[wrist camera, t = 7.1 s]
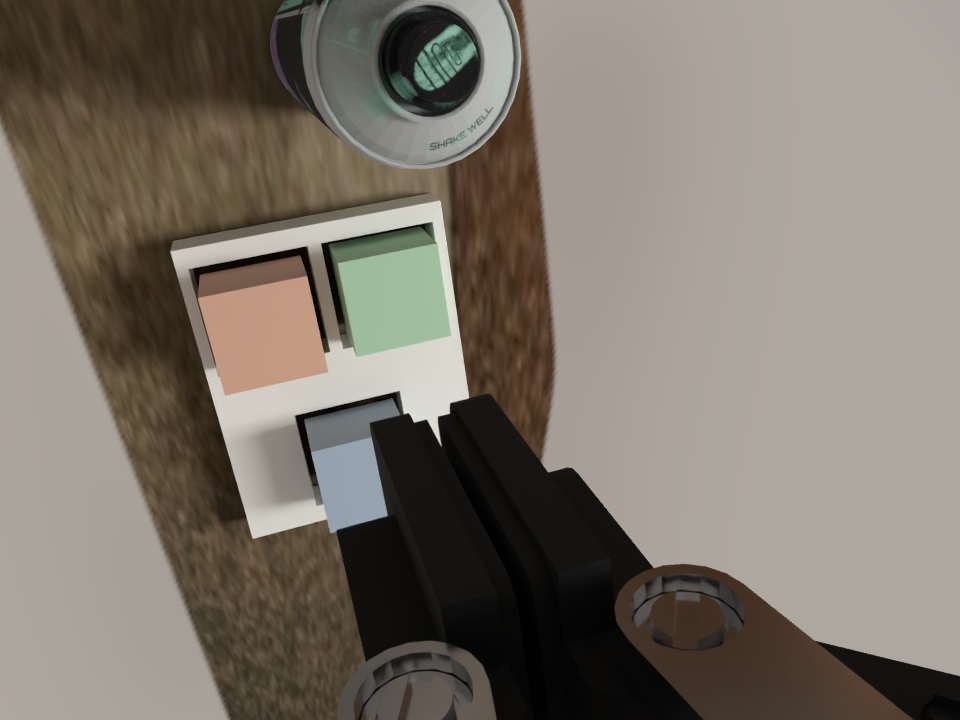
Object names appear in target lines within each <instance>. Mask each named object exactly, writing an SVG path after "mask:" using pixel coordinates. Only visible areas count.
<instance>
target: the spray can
mask: <svg viewBox="0 0 960 720" xmlns="http://www.w3.org/2000/svg"><path fill="white" fill-rule="evenodd" d="M270 51H271V55H272V60H273V64H274V67H275V69H276V72H277V74H278V77H279V78H280V80H281V81H282V83H283V84H284V86H285V87H286V89H287V90H288V91H289V92H290V93H291V94H292V95H293V96H294V97H295V98H296V99H297V100H298V101H299V102H300V103H301V104H303V105H304V106H305V107H306V108H307V109H308V110H309V111H310V112H311V113H312V114H313V115H315V116H316V117H317V118H318V119H319V120H320V121H321V122H322V123H323V124H324V125H325V126H326V127H328V128H329V129H330V130H331V131H332V132H333V133H334V134H335V135H336V136H337V137H338V138H340V139H341V140H342V141H343V142H344V143H345V144H347V145H348V146H349V147H351V148H352V149H354V150H355V151H356V152H358V153H359V154H361V155H362V156H365V157H367V158H369V159H371V160H373V161H375V162H378V163H380V164H384V165H388V166H393V167H397V168H406V169H429V168H434V167H440V166H445V165H448V164H450V163H453V162H455V161H458V160H460V159H463V158H464V157H466V156H467V155H469V154H471V153H472V152H474V151H475V150H477V149H478V148H480V147H481V146H482V145H483V144H484V143H485V142H486V141H487V140H488V139H489V138H490V137H491V136H492V135H493V134H494V133H495V131H496V130H497V128H498V127H499V126H500V124H501V123H502V121H503V120H504V119H505V117H506V115H507V113H508V111H509V108H510V106H511V104H512V102H513V100H514V97H515V93H516V89H517V85H518V82H519V77H520V64H521V51H520V40H519V33H518V30H517V26H516V22H515V19H514V15H513V13H512V11H511V8H510V6H509V4H508V2H507V0H284V2H283V3H282V5H281V6H280V8H279V9H278V11H277V13H276V16H275V18H274V21H273V24H272V29H271V35H270Z"/></svg>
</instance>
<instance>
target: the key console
mask: <svg viewBox="0 0 960 720" xmlns="http://www.w3.org/2000/svg"><path fill="white" fill-rule="evenodd" d="M424 223H425V228H426V233H427V234H428V235H429V236H430V237H431V238H432V239H433V240H434V241H435V242H436V243H437V245H438V251H439V258H440V265H441V271H442V278H443V285H444V291H445V298H446V305H447V311H448V318H449V325H450V331H451V336H448V337H444V338H439V339H435V340H431V341H426V342H422V343H417V344H413V345H408V346H404V347H399V348H395V349H391V350H386V351H382V352H377V353H373V354H368V355H364V356H360V357H357V356H356V354H355V351H354V349H353V346H352V344H351V342H350V339H349V337H348V334H347V333H346V334H341V335H340V333H339V328H338V323H337V318H336V314H335V309H334V304H333V299H332V294H331V290H330V285H329V280H328V275H327V271H326V266H325V261H324V256H323V251H322V247H321V243H326V242H331V241H336V240H341V239H346V238H351V237H357V236H362V235H367V234H372V233H377V232H382V231H387V230H393V229H398V228H403V227H408V226H413V225H418V224H424ZM305 246H306V249H307V254H308V259H309V263H310V268H311V272H312V277H313V282H314V286H315V291H316V295H317V300H318V305H319V309H320V314H321V318H322V323H323V328H324V332H325V337H326V338H323V339H321V341H322V346H323V350H324V355H325V359H326V364H327V368H328V372H327V373H323V374H318V375H314V376H310V377H305V378H301V379H296V380H292V381H288V382H283V383H279V384H274V385H270V386H266V387H261V388H257V389H252V390H248V391H244V392H239V393H235V394H230V395H226V396H225V394H224V390H223V387H222V383H221V379H220V376H219V372H218V369H217V365H216V362H215V358H214V354H213V351H212V347H211V344H210V340H209V337H208V333H207V329H206V326H205V322H204V319H203V315H202V312H201V308H200V304H199V301H198V286H197V282H196V279H195V275H194V272H193V268H197V267H202V266H207V265H212V264H217V263H223V262H228V261H233V260H238V259H243V258H248V257H254V256H259V255H264V254H269V253H274V252H279V251H284V250H290V249H295V248H300V247H305ZM170 252H171V256H172V259H173V262H174V266H175V269H176V273H177V276H178V280H179V283H180V287H181V290H182V294H183V297H184V301H185V304H186V308H187V311H188V315H189V318H190V322H191V325H192V329H193V332H194V336H195V339H196V343H197V346H198V349H199V353H200V356H201V360H202V363H203V367H204V370H205V374H206V377H207V381H208V384H209V388H210V391H211V395H212V398H213V402H214V405H215V409H216V412H217V416H218V419H219V423H220V426H221V430H222V433H223V437H224V440H225V443H226V447H227V450H228V454H229V457H230V461H231V464H232V468H233V471H234V475H235V478H236V482H237V485H238V489H239V492H240V496H241V499H242V503H243V506H244V510H245V513H246V517H247V520H248V524H249V527H250V530H251V534H252V537H253V539H254V538H258V537H261V536H265V535H269V534H273V533H276V532H280V531H284V530H288V529H291V528H295V527H299V526H303V525H307V524H310V523H314V522H318V521H322V520H325V519H327V517H326V512H325V508H324V504H323V500H322V496H321V492H320V487H319V485H317V486H312V481H311V477H310V473H309V469H308V465H307V461H306V457H305V453H304V449H303V444H302V440H301V436H300V432H299V428H298V424H297V420H296V416H295V415H300V414H304V413H308V412H312V411H317V410H321V409H325V408H329V407H333V406H338V405H342V404H346V403H350V402H355V401H359V400H363V399H367V398H371V397H376V396H380V395H384V394H388V393H392V392H396V398H397V403H398V409H399V413H400V415H403V414H407V413H409V414H410V415H411V417H412V419H413V421H414V422H418V421H422V420H426V419H427V421H428V422H429V424H430V426H431V428H432V430H433V432H434V434H435V435H436V437H437V439H438V441H439V443H440V445H441V441H440V434H439V428H438V416H442V415H446V414H450V403H452V402H456V401H460V400H464V399H468V398H469V395H468V388H467V381H466V374H465V367H464V360H463V353H462V347H461V340H460V333H459V326H458V319H457V312H456V305H455V298H454V291H453V285H452V278H451V271H450V264H449V257H448V250H447V243H446V236H445V229H444V223H443V216H442V209H441V202H440V200H439V199H438V198H436V197H435V196H434V195H433V194H431V193H427V194H422V195H417V196H411V197H406V198H400V199H395V200H390V201H384V202H379V203H374V204H368V205H363V206H357V207H352V208H347V209H341V210H336V211H331V212H325V213H320V214H315V215H309V216H304V217H298V218H293V219H288V220H282V221H277V222H272V223H266V224H261V225H256V226H250V227H245V228H239V229H234V230H229V231H223V232H218V233H213V234H207V235H202V236H197V237H191V238H186V239H180V240H175V241H173V243H172V247H171V251H170Z"/></svg>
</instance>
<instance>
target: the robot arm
mask: <svg viewBox="0 0 960 720" xmlns="http://www.w3.org/2000/svg"><path fill="white" fill-rule="evenodd" d="M438 428H439V434H440V441H441V445H440V443H439V441H438V439H437V437H436V435H435V434H434V432H433V430H432V428H431V426H430V424H429V422H428V421H427V419H426V420H422V421H418V422H414V421H413V419H412V417H411V415H410V414H409V413H407V414H403V415H399V416H394V417H390V418H386V419H382V420H378V421H374V422H370V431H371V437H372V442H373V447H374V451H375V456H376V461H377V466H378V471H379V476H380V481H381V486H382V491H383V496H384V501H385V505H386V510H387V515H388V516H386V517H382V518H378V519H374V520H371V521H367V522H363V523H360V524H356V525H352V526H348V527H345V528H341V529H337V530H336V531H337V536H338V540H339V544H340V549H341V553H342V558H343V562H344V567H345V571H346V575H347V580H348V584H349V589H350V593H351V597H352V602H353V606H354V611H355V615H356V620H357V624H358V628H359V633H360V637H361V642H362V646H363V651H364V655H365V659H366V663H365V664H364V665H363V666H361V667H360V668H359V669H358V670H357V671H356V672H355V673H354V674H353V675H352V676H351V678H350V679H349V681H348V683H347V684H346V686H345V688H344V689H343V691H342V692H341V696H340V701H339V705H338V709H337V720H960V676H957V675H953V674H949V673H944V672H940V671H936V670H932V669H928V668H924V667H920V666H916V665H912V664H908V663H904V662H900V661H895V660H891V659H887V658H883V657H879V656H874V655H871V654H867V653H863V652H859V651H854V650H850V649H846V648H842V647H838V646H834V645H830V644H825V643H821V642H818V641H814V640H813V639H812V638H811V637H809V636H808V635H807V634H806V633H804V632H803V631H802V630H800V629H799V628H798V627H797V626H796V625H794V624H793V623H792V622H791V621H789V620H788V619H787V618H786V617H784V616H783V615H782V614H781V613H779V612H778V611H777V610H776V609H774V608H773V607H771V606H770V605H769V604H768V603H767V602H766V601H764V600H763V599H762V598H761V597H759V596H758V595H757V594H756V593H754V592H753V591H752V590H750V589H749V588H748V587H747V586H746V585H744V584H743V583H741V582H740V581H738V580H736V579H735V578H733V577H731V576H730V575H728V574H727V573H724V572H721V571H718V570H715V569H712V568H709V567H706V566H697V565H690V564H675V565H663V566H660V567H657V568H653V567H652V565H651V564H650V563H649V562H648V560H647V559H646V558H645V557H644V555H643V554H642V553H641V552H640V550H639V549H638V548H637V547H636V545H635V544H634V543H633V542H632V540H631V539H630V538H629V537H628V536H627V534H626V533H625V532H624V530H623V529H622V528H621V527H620V525H619V524H618V523H617V522H616V521H615V519H614V518H613V517H612V516H611V514H610V513H609V512H608V511H607V509H606V508H605V507H604V506H603V504H602V503H601V502H600V501H599V499H598V498H597V497H596V496H595V494H594V493H593V492H592V491H591V489H590V488H589V487H588V486H587V484H586V483H585V482H584V481H583V480H582V478H581V477H580V476H579V474H578V473H577V472H576V471H575V470H574V469H572V468H564V469H560V470H557V471H553V472H549V473H548V472H547V470H546V469H545V468H544V466H543V465H542V464H541V462H540V461H539V459H538V458H537V457H536V455H535V454H534V453H533V451H532V450H531V449H530V447H529V446H528V445H527V443H526V442H525V440H524V439H523V438H522V436H521V435H520V434H519V432H518V431H517V430H516V428H515V427H514V426H513V424H512V423H511V421H510V420H509V419H508V417H507V416H506V415H505V413H504V412H503V411H502V409H501V408H500V407H499V405H498V404H497V402H496V401H495V400H494V398H493V397H492V396H491V395H490V394H485V395H481V396H477V397H473V398H468V399H464V400H460V401H456V402H452V403H450V414H446V415H442V416H438Z"/></svg>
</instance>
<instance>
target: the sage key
mask: <svg viewBox="0 0 960 720" xmlns="http://www.w3.org/2000/svg"><path fill="white" fill-rule="evenodd" d="M328 245H329V249H330V254H331V259H332V264H333V269H334V274H335V279H336V283H337V288H338V293H339V298H340V303H341V308H342V313H343V317H344V322H345V327H346V332H347V334H348V337H349V339H350V342H351V344H352V346H353V349H354V351H355V354H356V356H357V357H360V356H364V355H368V354H373V353H377V352H382V351H386V350H391V349H395V348H399V347H404V346H408V345H413V344H417V343H422V342H426V341H431V340H435V339H439V338H444V337H448V336H451V331H450V325H449V318H448V311H447V305H446V298H445V291H444V285H443V278H442V271H441V265H440V258H439V251H438V245H437V243H436V242H435V241H434V240H433V239H432V238H431V237H430V236H429V235H428V234H427V233H426V232H425V231H424V230H423V229H422V228H421V227H415V228H409V229H404V230H399V231H394V232H389V233H384V234H379V235H374V236H368V237H363V238H358V239H353V240H348V241H343V242H338V243H332V244H328Z"/></svg>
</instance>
